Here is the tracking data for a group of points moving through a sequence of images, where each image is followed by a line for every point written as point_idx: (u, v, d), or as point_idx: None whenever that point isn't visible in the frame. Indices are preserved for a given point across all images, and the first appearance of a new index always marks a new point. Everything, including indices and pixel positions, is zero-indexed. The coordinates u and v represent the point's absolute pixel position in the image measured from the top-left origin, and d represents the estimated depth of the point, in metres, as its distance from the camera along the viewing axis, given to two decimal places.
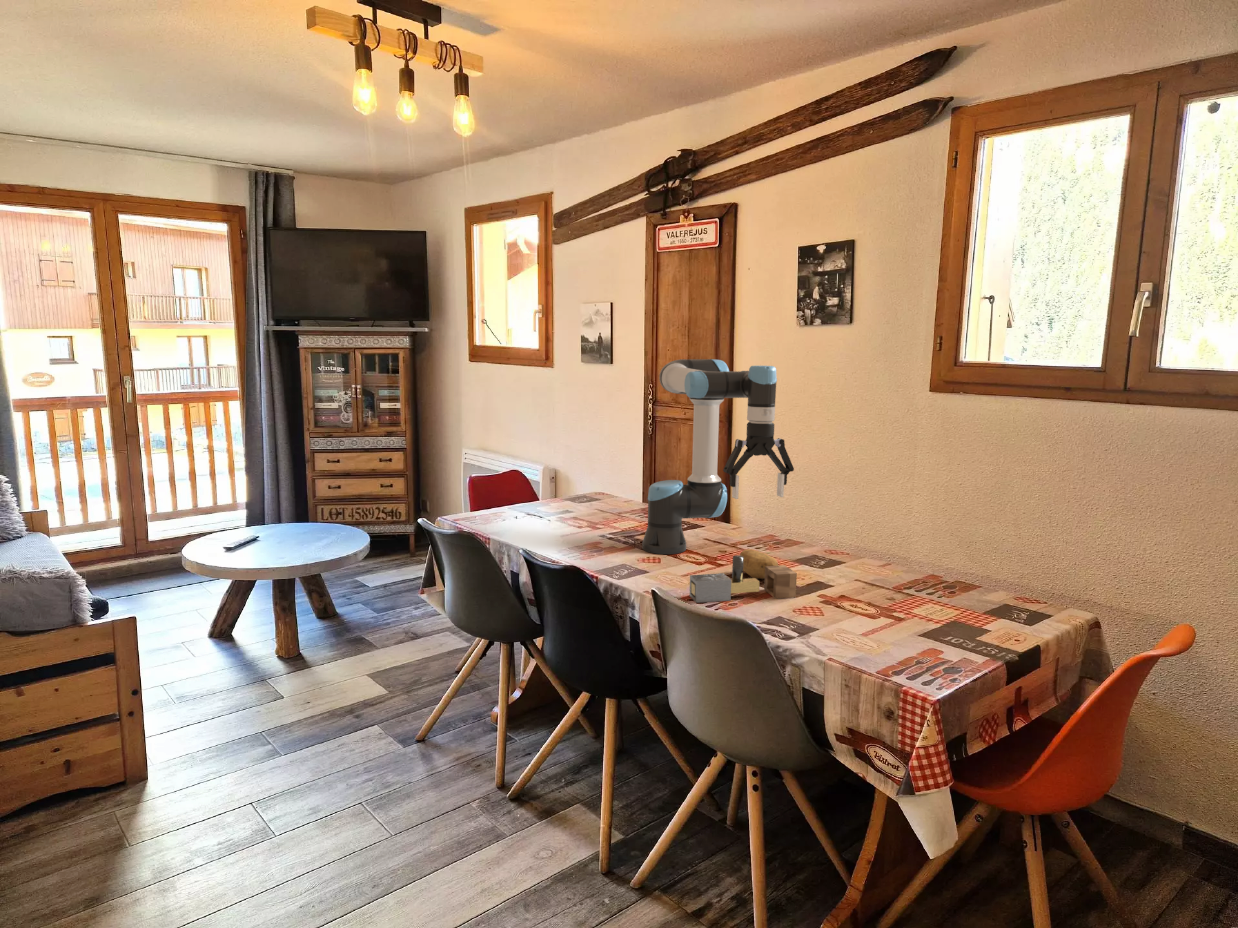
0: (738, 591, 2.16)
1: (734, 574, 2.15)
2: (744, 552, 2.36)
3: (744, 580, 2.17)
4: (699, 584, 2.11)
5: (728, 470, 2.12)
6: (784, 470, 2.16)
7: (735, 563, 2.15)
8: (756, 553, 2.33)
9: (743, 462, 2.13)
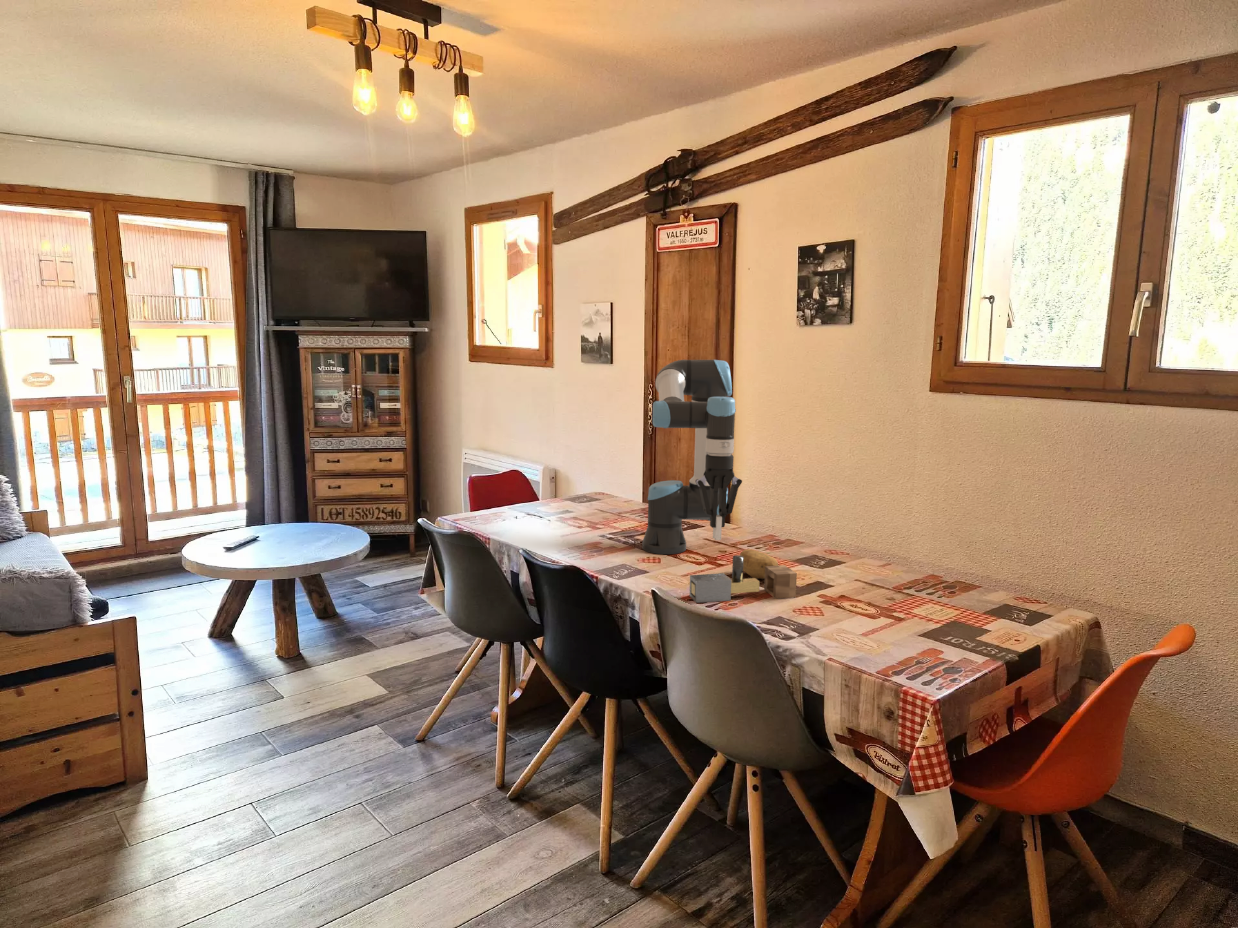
0: (738, 591, 2.16)
1: (734, 574, 2.15)
2: (744, 552, 2.36)
3: (744, 580, 2.17)
4: (699, 584, 2.11)
5: (708, 511, 2.10)
6: (723, 511, 2.11)
7: (735, 563, 2.15)
8: (756, 553, 2.33)
9: (715, 500, 2.10)
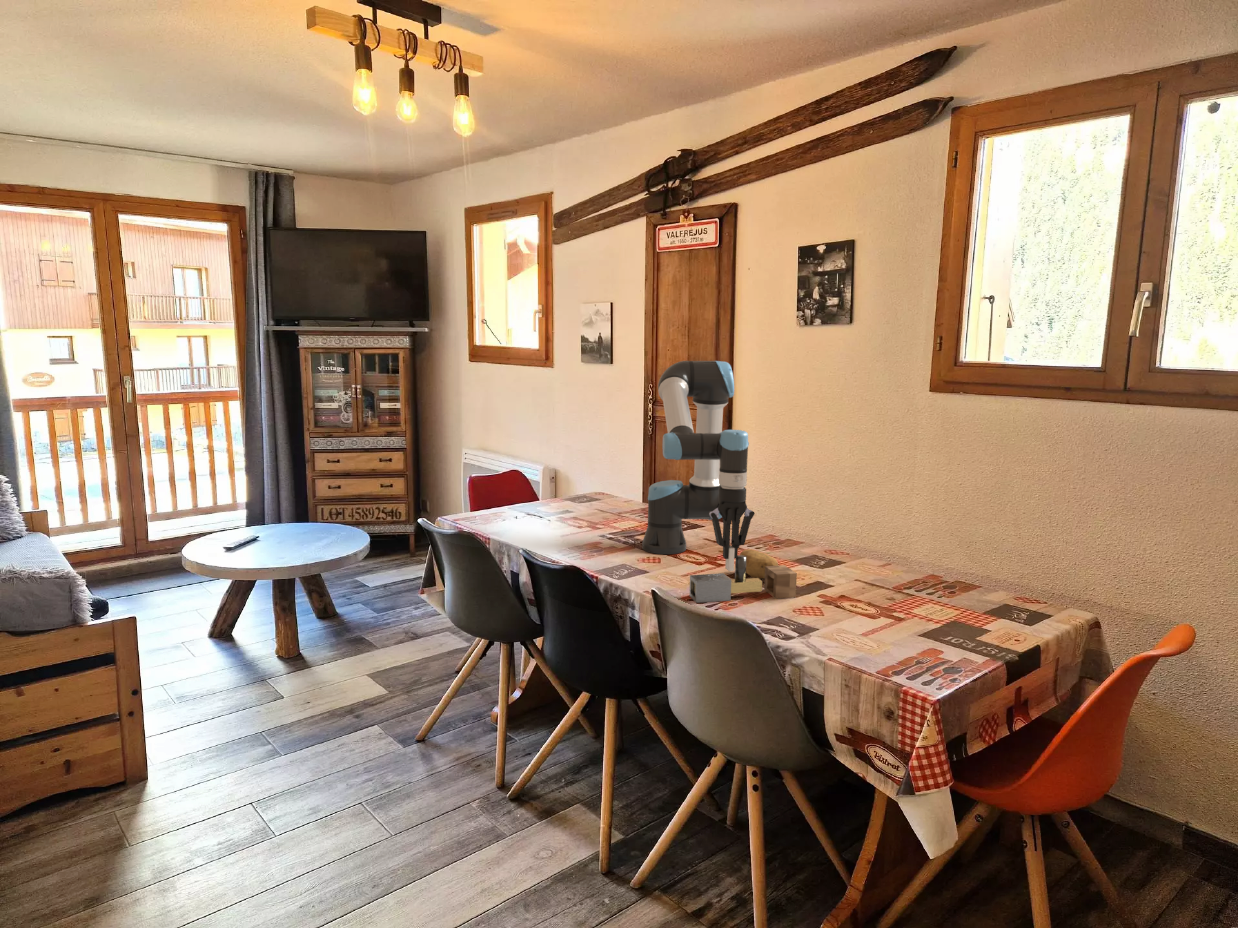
0: (740, 591, 2.16)
1: (737, 574, 2.16)
2: (744, 552, 2.36)
3: (747, 580, 2.17)
4: (699, 584, 2.11)
5: (720, 543, 2.12)
6: (736, 543, 2.13)
7: (738, 563, 2.15)
8: (756, 553, 2.33)
9: (728, 532, 2.12)
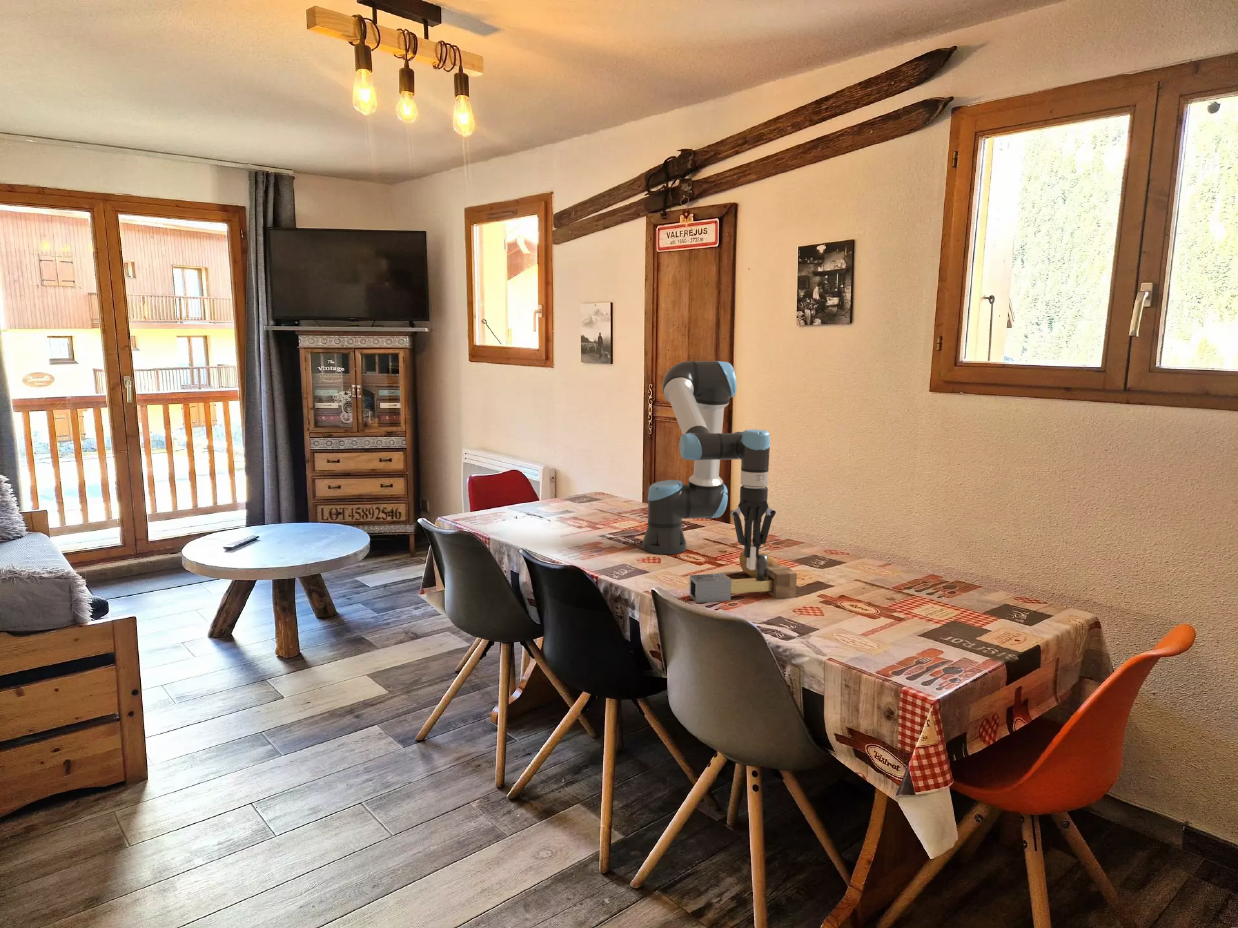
0: (761, 590, 2.17)
1: (758, 573, 2.17)
2: None
3: (768, 579, 2.19)
4: (699, 584, 2.11)
5: (742, 542, 2.14)
6: (757, 542, 2.15)
7: (759, 561, 2.16)
8: None
9: (749, 531, 2.14)
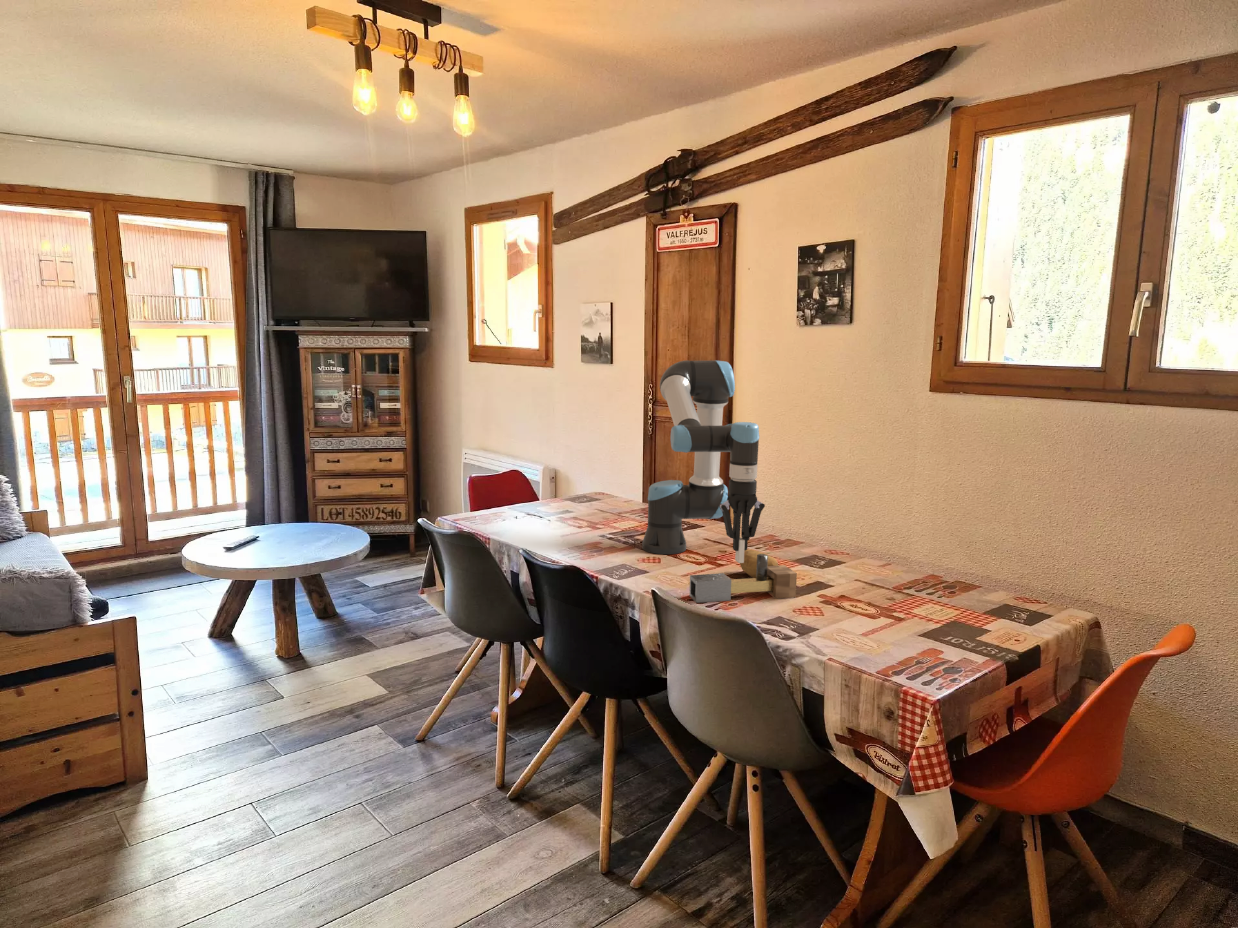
0: (762, 590, 2.17)
1: (758, 573, 2.17)
2: (744, 552, 2.36)
3: (768, 578, 2.19)
4: (699, 584, 2.11)
5: (731, 535, 2.13)
6: (746, 535, 2.14)
7: (760, 561, 2.16)
8: (756, 553, 2.33)
9: (738, 524, 2.13)
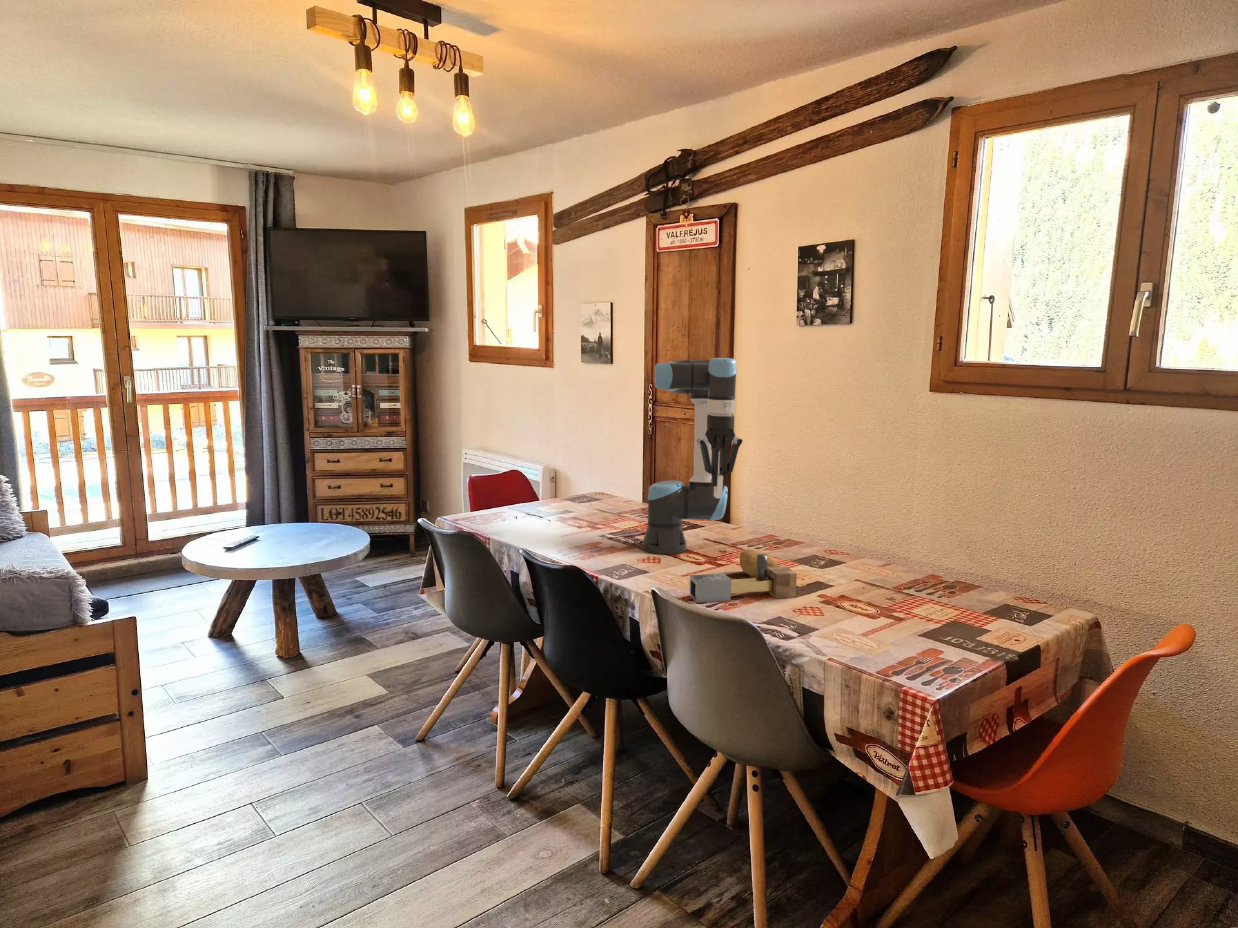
0: (762, 590, 2.17)
1: (758, 573, 2.17)
2: (744, 552, 2.36)
3: (768, 578, 2.19)
4: (699, 584, 2.11)
5: (709, 470, 2.15)
6: (724, 470, 2.16)
7: (760, 561, 2.16)
8: (756, 553, 2.33)
9: (716, 459, 2.15)
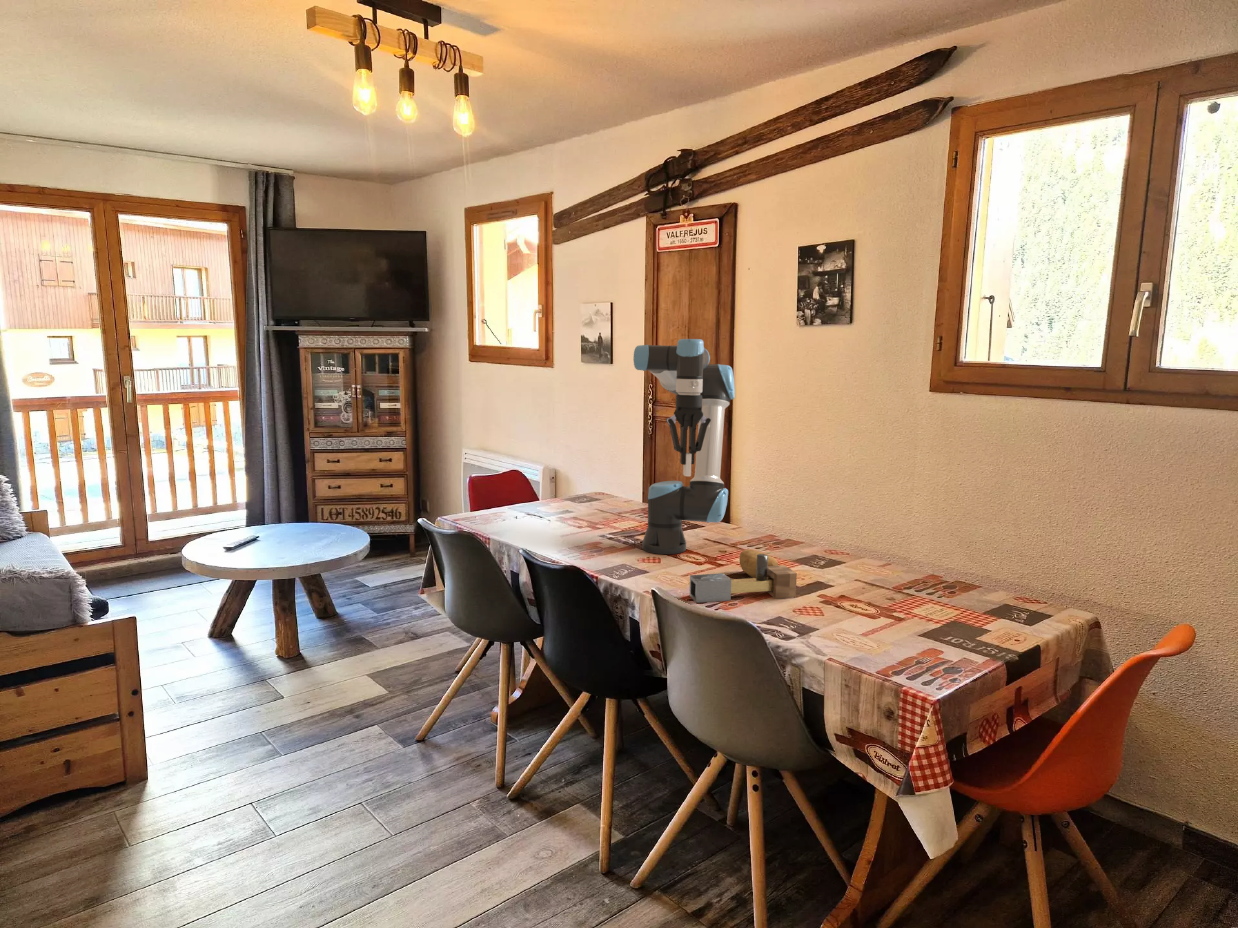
0: (762, 590, 2.17)
1: (758, 573, 2.17)
2: (744, 552, 2.36)
3: (768, 578, 2.19)
4: (699, 584, 2.11)
5: (678, 449, 2.20)
6: (692, 449, 2.21)
7: (760, 561, 2.16)
8: (756, 553, 2.33)
9: (684, 438, 2.20)
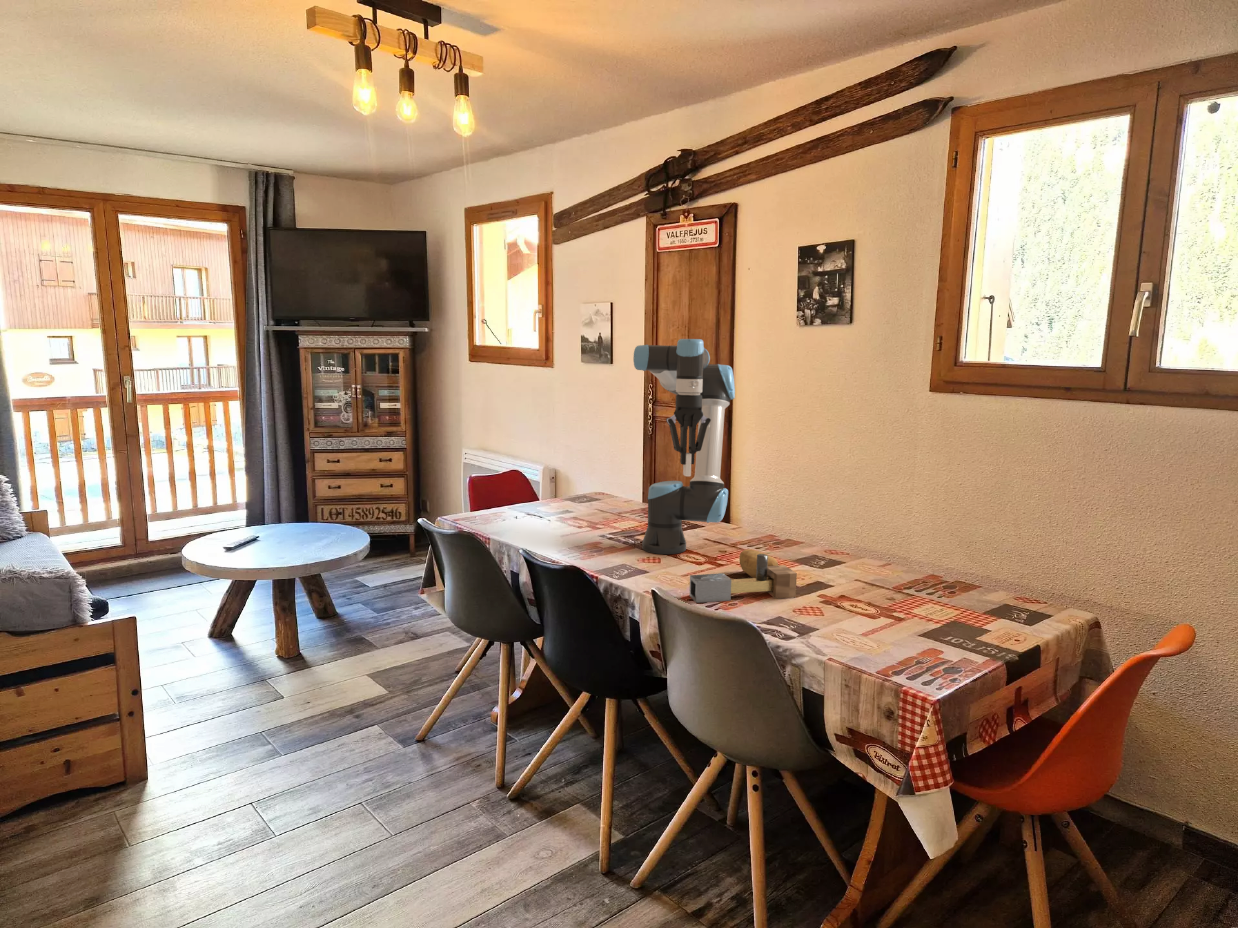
0: (762, 590, 2.17)
1: (758, 573, 2.17)
2: (744, 552, 2.36)
3: (768, 578, 2.19)
4: (699, 584, 2.11)
5: (678, 448, 2.20)
6: (692, 449, 2.21)
7: (760, 561, 2.16)
8: (756, 553, 2.33)
9: (684, 438, 2.20)
